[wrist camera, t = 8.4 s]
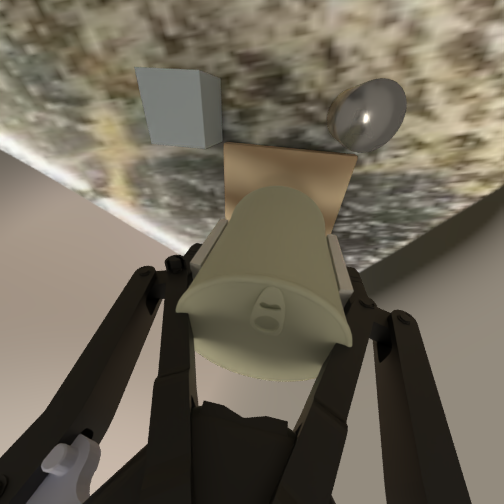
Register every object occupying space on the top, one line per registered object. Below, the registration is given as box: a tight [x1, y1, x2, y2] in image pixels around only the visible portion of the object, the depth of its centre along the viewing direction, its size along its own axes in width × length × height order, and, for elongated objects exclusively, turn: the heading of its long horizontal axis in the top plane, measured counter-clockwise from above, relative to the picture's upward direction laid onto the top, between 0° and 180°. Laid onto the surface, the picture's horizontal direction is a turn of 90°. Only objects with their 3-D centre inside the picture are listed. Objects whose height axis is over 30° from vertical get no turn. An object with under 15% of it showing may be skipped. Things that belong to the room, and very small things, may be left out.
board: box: [224, 142, 358, 236], centre depth 23 cm, size 13×13×1 cm
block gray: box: [134, 67, 223, 149], centre depth 18 cm, size 5×5×5 cm
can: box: [176, 186, 352, 381], centre depth 15 cm, size 9×9×12 cm
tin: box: [327, 78, 407, 153], centre depth 15 cm, size 4×4×6 cm
